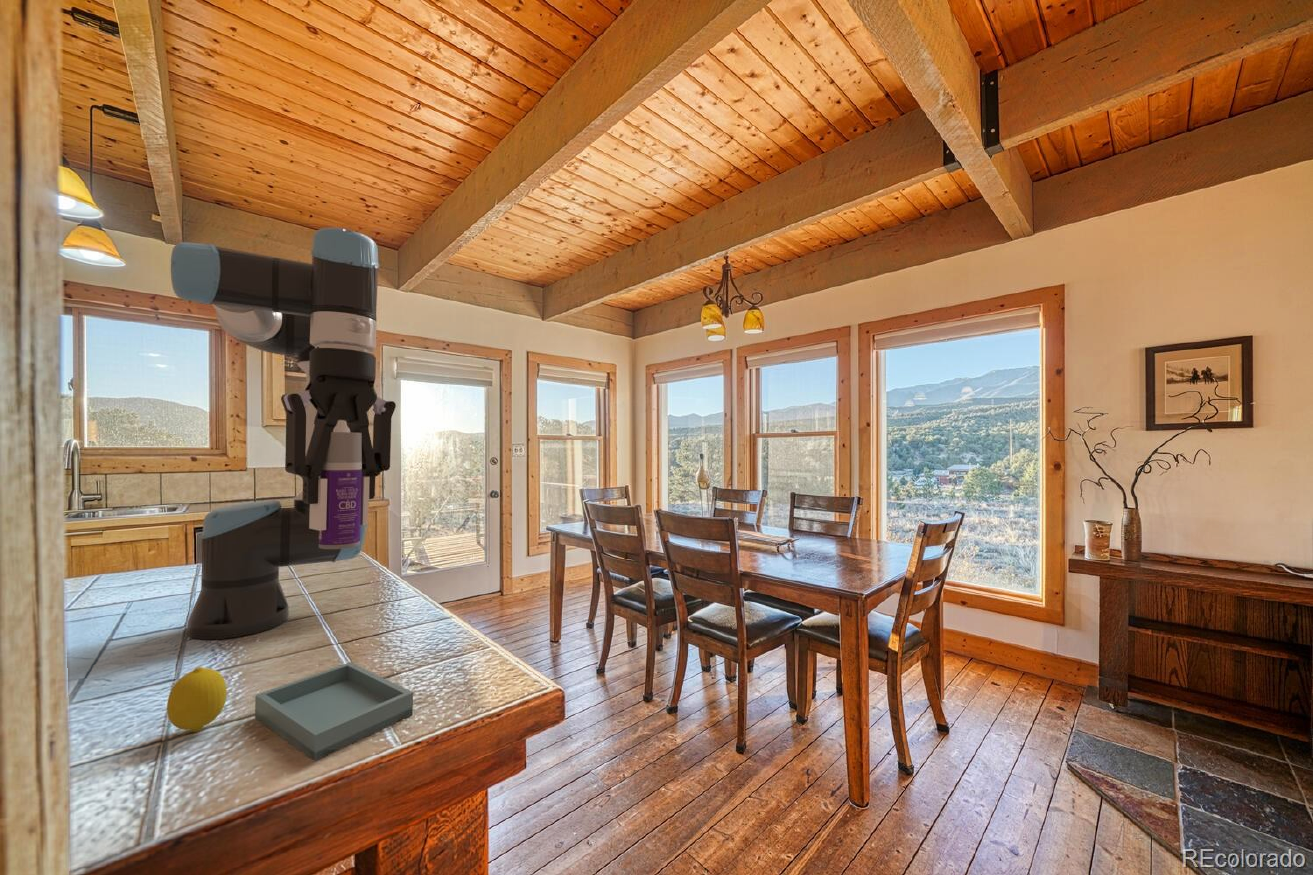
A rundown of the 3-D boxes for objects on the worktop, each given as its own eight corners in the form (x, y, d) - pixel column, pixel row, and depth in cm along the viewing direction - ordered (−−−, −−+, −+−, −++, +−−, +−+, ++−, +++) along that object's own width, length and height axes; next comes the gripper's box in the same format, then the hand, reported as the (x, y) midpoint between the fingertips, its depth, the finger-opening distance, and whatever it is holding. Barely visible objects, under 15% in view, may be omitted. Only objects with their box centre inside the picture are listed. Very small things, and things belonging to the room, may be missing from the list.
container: (340, 550, 65) (343, 432, 65) (309, 548, 66) (312, 431, 66) (368, 543, 70) (370, 433, 70) (338, 541, 70) (341, 432, 71)
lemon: (191, 719, 66) (192, 658, 66) (236, 718, 67) (238, 657, 67) (153, 745, 61) (154, 678, 61) (202, 744, 61) (204, 677, 61)
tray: (254, 717, 67) (255, 694, 67) (349, 681, 77) (350, 662, 77) (314, 761, 59) (315, 735, 59) (412, 714, 69) (413, 692, 69)
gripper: (279, 335, 58) (274, 539, 58) (422, 358, 73) (418, 521, 73) (251, 341, 62) (246, 532, 62) (392, 362, 77) (388, 516, 77)
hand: (339, 526), depth 68 cm, fingers closed on container, 5 cm apart
